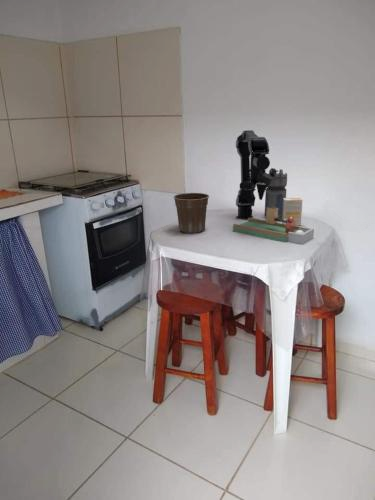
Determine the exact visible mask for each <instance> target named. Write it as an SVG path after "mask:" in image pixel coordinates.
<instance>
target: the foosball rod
mask: <svg viewBox="0 0 375 500" xmlns="http://www.w3.org/2000/svg"><path fill="white" fill-rule="evenodd" d="M265 220H266V223H269V224H276V223H277V222H278V223H282V222H285V223H286V229H285V233H288V232H293V231H295V222H296V221H293V220H294V219H293V217H289V219H282V218H278V207H272V206H269V207H267V212H266V217H265Z"/></svg>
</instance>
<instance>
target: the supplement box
mask: <svg viewBox="0 0 375 500" xmlns="http://www.w3.org/2000/svg"><path fill="white" fill-rule="evenodd" d="M302 212H303V199H302V198H301V197H286V198H283V216H282V219H289V217H293V219H294V220H293V221H296V222H295V226H301V225H302V216H303V215H302ZM281 223H283V224H286V223H285V222H281ZM301 227H302V226H301Z"/></svg>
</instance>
